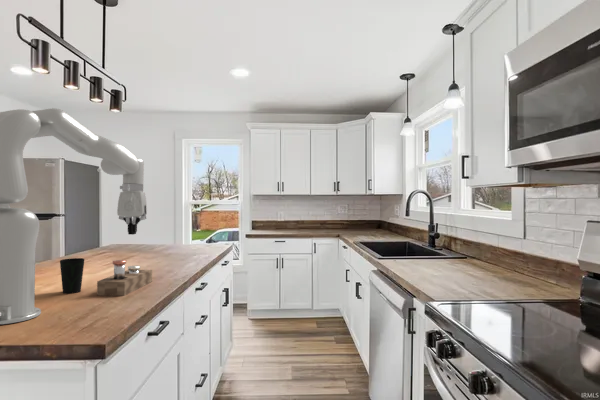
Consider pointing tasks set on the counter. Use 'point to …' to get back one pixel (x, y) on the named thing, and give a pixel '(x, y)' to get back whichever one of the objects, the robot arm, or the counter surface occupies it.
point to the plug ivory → (133, 269)
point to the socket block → (124, 283)
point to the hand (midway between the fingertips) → (132, 234)
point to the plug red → (119, 269)
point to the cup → (71, 274)
